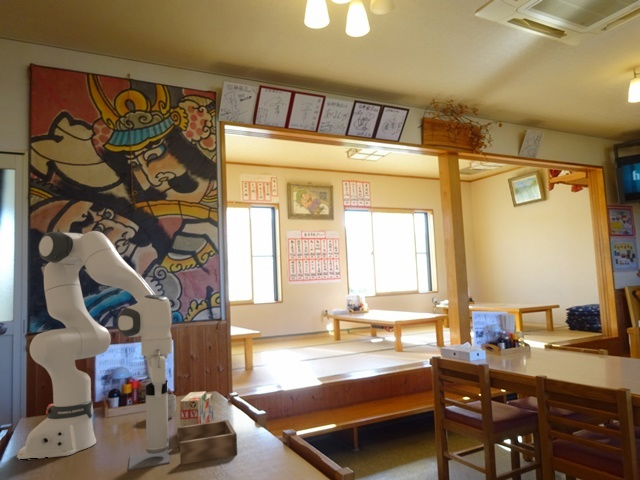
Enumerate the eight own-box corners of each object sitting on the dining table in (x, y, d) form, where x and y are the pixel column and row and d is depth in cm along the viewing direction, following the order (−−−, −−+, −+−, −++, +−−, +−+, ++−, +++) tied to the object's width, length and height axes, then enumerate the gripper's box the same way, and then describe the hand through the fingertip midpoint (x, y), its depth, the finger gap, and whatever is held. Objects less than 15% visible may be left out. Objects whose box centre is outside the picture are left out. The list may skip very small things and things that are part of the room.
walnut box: (180, 464, 131) (180, 443, 132) (177, 446, 146) (177, 427, 147) (237, 454, 137) (236, 433, 137) (228, 438, 152) (227, 419, 153)
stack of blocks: (197, 418, 177) (196, 386, 178) (213, 418, 177) (212, 385, 178) (180, 437, 156) (179, 400, 157) (198, 436, 156) (197, 399, 157)
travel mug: (173, 448, 138) (172, 380, 140) (154, 455, 133) (154, 385, 135) (160, 444, 142) (159, 378, 144) (142, 451, 136) (141, 383, 138)
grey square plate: (128, 470, 129) (128, 469, 129) (130, 457, 139) (130, 456, 139) (169, 463, 133) (169, 461, 133) (168, 450, 143) (168, 449, 143)
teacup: (170, 421, 174) (170, 400, 175) (142, 423, 174) (142, 401, 175) (182, 411, 188) (181, 391, 189) (156, 412, 188) (155, 393, 189)
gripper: (170, 351, 132) (171, 400, 130) (164, 343, 150) (165, 386, 149) (147, 353, 129) (147, 403, 128) (144, 345, 148) (144, 389, 147)
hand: (157, 394), depth 139 cm, fingers closed on travel mug, 6 cm apart
